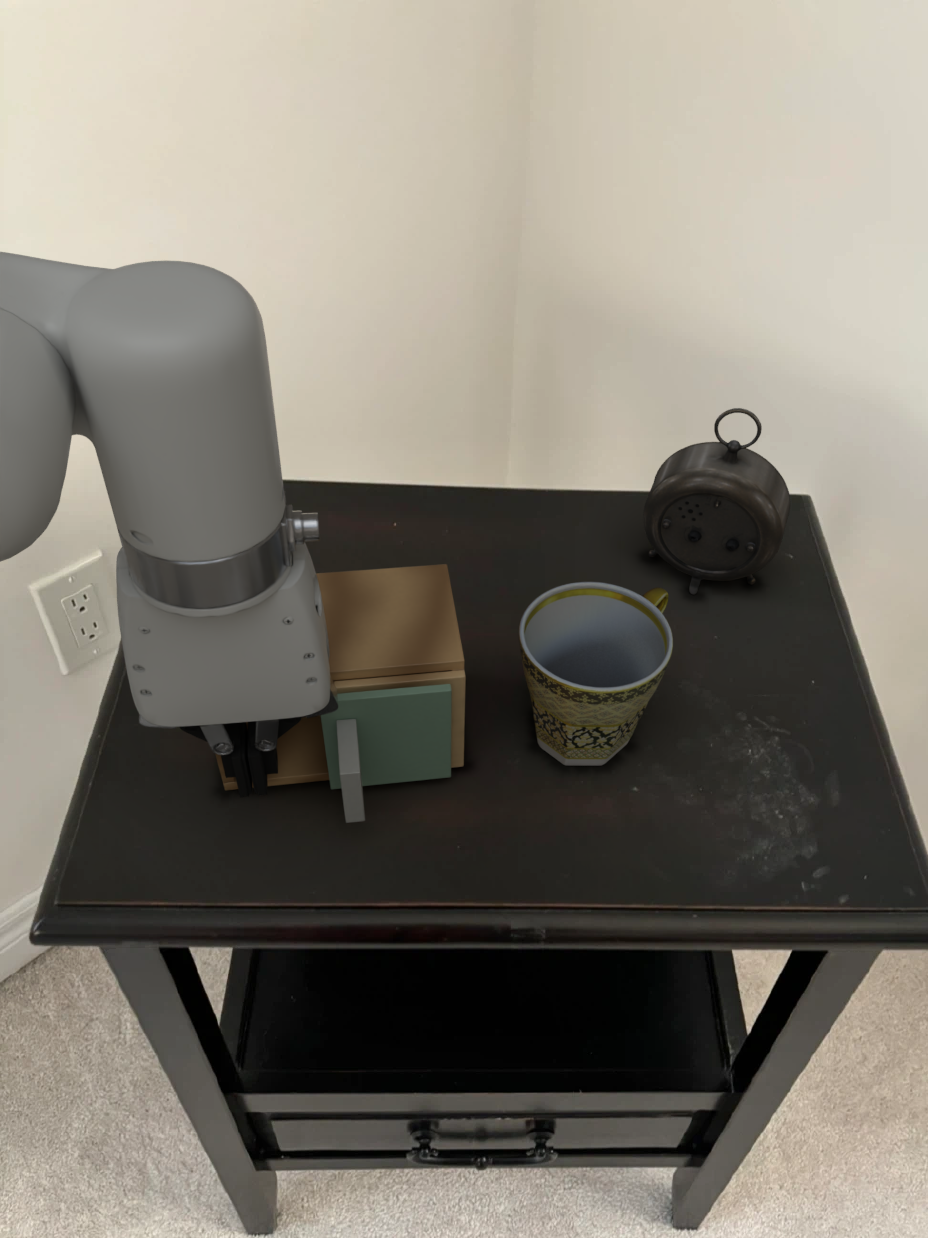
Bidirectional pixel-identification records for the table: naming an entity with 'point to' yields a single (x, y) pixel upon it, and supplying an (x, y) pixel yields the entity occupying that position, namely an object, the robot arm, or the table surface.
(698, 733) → the table surface
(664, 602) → the ceramic cup
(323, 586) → the cabinet
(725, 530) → the alarm clock
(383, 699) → the sliding door
